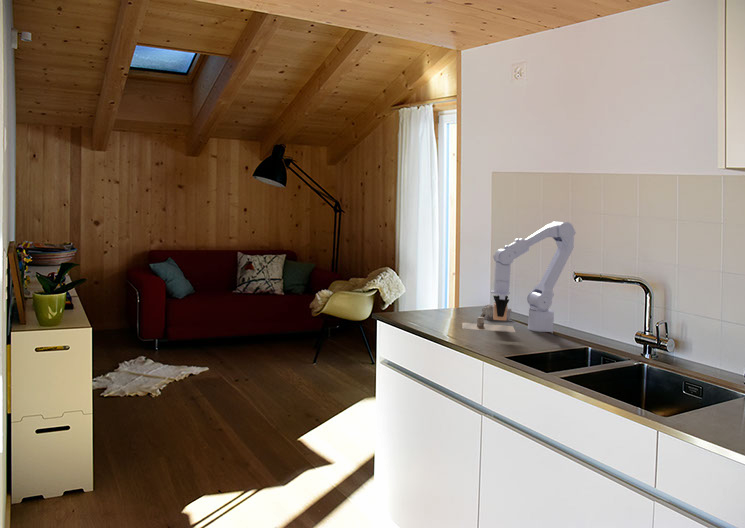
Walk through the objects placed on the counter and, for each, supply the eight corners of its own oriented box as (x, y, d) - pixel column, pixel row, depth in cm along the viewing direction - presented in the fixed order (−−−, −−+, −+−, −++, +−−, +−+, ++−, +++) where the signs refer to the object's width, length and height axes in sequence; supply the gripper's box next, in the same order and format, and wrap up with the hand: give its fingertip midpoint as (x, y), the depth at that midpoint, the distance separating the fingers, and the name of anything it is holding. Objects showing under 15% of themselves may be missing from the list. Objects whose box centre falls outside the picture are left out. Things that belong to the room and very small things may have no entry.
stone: (512, 322, 268) (513, 306, 267) (486, 322, 265) (487, 306, 264) (504, 319, 276) (505, 303, 275) (478, 319, 273) (479, 303, 272)
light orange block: (505, 318, 249) (506, 303, 249) (506, 320, 245) (507, 305, 244) (493, 317, 250) (494, 302, 249) (493, 319, 245) (494, 304, 245)
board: (513, 328, 255) (513, 317, 254) (515, 335, 243) (516, 323, 243) (462, 325, 258) (462, 314, 257) (462, 331, 246) (462, 319, 245)
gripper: (490, 277, 253) (488, 311, 255) (492, 282, 239) (490, 318, 241) (509, 278, 252) (506, 312, 254) (511, 283, 238) (509, 319, 240)
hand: (499, 315), depth 247 cm, fingers closed on light orange block, 5 cm apart
